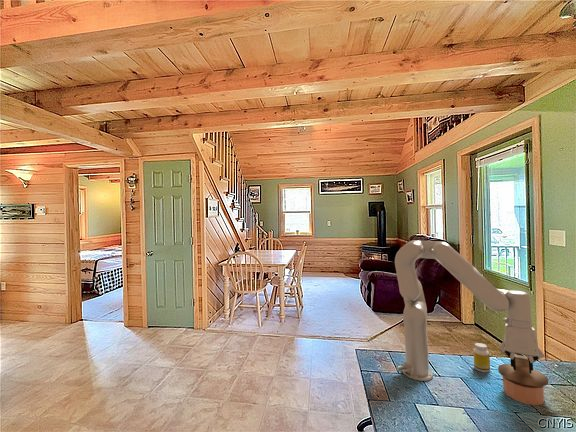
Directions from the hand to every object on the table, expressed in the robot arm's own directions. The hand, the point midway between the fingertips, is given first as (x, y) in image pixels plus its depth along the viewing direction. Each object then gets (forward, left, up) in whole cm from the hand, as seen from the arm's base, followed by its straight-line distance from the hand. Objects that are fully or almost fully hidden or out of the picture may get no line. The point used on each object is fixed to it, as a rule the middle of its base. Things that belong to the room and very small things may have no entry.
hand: (521, 369), depth 109 cm
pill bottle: (+2, +20, -10) cm, 22 cm away
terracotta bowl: (0, 0, -10) cm, 10 cm away
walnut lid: (0, 0, -2) cm, 2 cm away
